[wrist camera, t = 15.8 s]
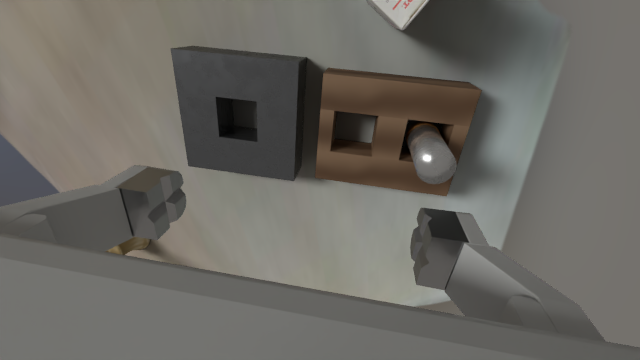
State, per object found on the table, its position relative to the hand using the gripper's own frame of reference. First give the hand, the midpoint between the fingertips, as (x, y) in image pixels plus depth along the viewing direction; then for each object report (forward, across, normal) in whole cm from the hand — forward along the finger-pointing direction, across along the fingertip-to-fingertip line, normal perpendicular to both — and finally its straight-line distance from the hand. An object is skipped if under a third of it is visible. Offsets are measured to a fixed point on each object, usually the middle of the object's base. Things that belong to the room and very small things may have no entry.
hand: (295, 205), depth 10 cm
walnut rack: (+33, -6, +7) cm, 34 cm away
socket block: (+33, +14, +7) cm, 37 cm away
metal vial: (+33, -10, +7) cm, 35 cm away
